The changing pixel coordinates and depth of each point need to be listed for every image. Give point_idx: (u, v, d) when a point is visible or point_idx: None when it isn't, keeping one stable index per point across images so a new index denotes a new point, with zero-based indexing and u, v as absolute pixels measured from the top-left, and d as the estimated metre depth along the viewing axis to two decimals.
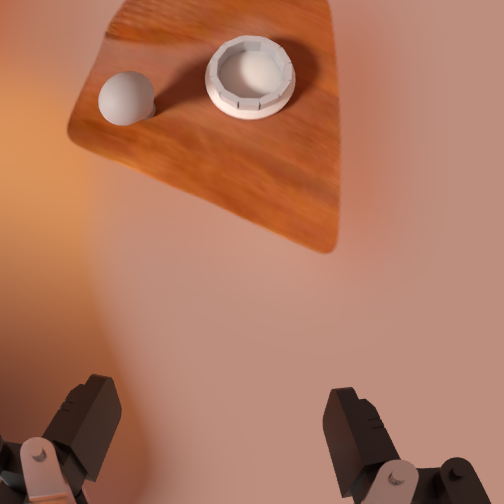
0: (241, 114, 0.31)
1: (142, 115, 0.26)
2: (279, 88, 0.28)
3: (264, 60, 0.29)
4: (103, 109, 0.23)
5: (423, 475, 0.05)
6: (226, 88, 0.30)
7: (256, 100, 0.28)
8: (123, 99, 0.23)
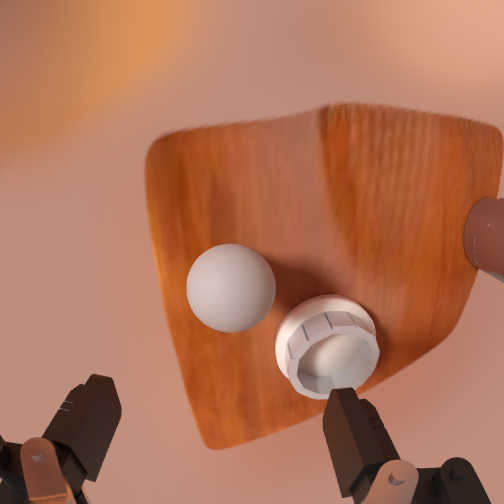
0: (281, 364, 0.29)
1: None
2: (324, 395, 0.27)
3: (353, 348, 0.28)
4: (196, 290, 0.17)
5: (423, 475, 0.05)
6: None
7: (301, 387, 0.26)
8: (224, 323, 0.17)
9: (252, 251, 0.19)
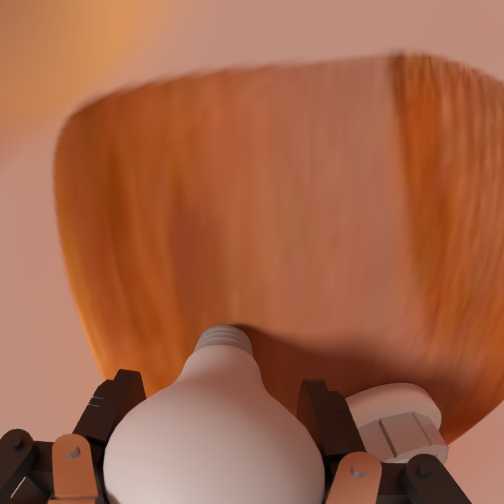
0: None
1: None
2: None
3: None
4: None
5: (389, 470, 0.05)
6: None
7: None
8: None
9: (270, 434, 0.05)
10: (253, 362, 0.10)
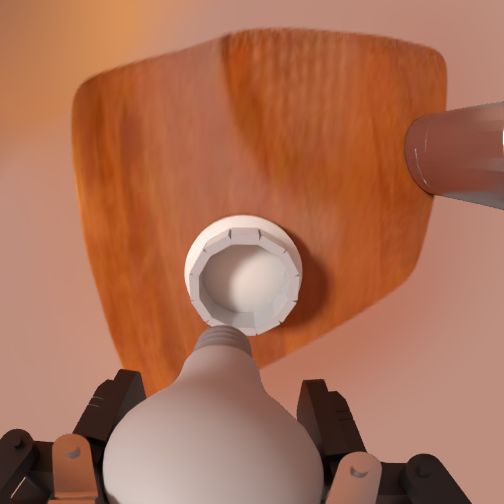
0: None
1: None
2: (239, 329, 0.25)
3: (275, 277, 0.27)
4: None
5: (389, 470, 0.05)
6: (212, 259, 0.26)
7: (208, 316, 0.24)
8: None
9: (269, 435, 0.05)
10: (252, 362, 0.10)
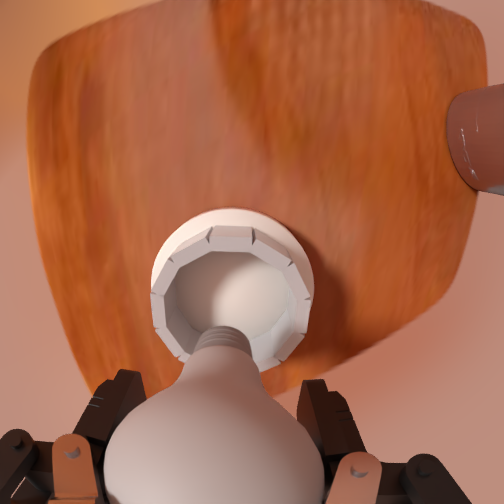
0: None
1: None
2: None
3: (275, 296, 0.19)
4: None
5: (389, 470, 0.05)
6: (187, 270, 0.18)
7: (179, 350, 0.17)
8: None
9: (270, 435, 0.05)
10: (252, 363, 0.10)
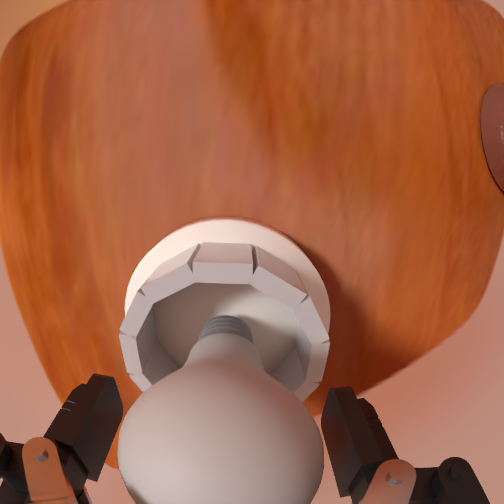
0: None
1: None
2: None
3: (281, 331, 0.15)
4: (135, 497, 0.05)
5: (421, 475, 0.05)
6: (168, 299, 0.14)
7: None
8: None
9: (274, 407, 0.06)
10: (254, 349, 0.11)
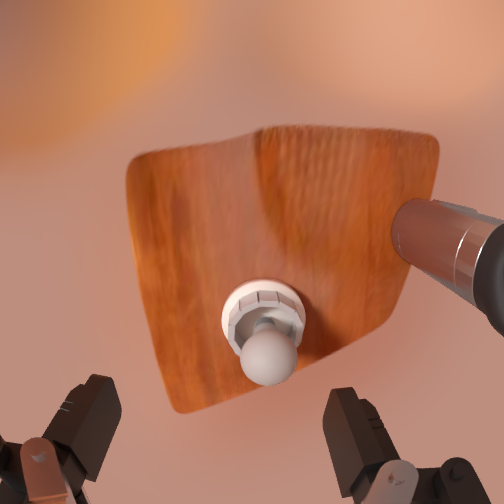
0: (226, 332, 0.37)
1: None
2: None
3: (286, 323, 0.37)
4: (250, 364, 0.27)
5: (423, 475, 0.05)
6: None
7: (239, 350, 0.35)
8: (266, 382, 0.27)
9: (284, 338, 0.28)
10: (277, 328, 0.34)
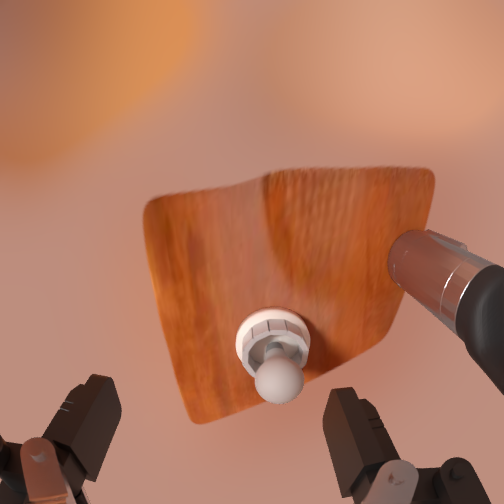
0: (240, 355, 0.41)
1: None
2: None
3: (293, 346, 0.41)
4: (264, 388, 0.31)
5: (423, 475, 0.05)
6: None
7: (252, 371, 0.39)
8: (278, 402, 0.31)
9: (293, 364, 0.32)
10: (285, 352, 0.38)
